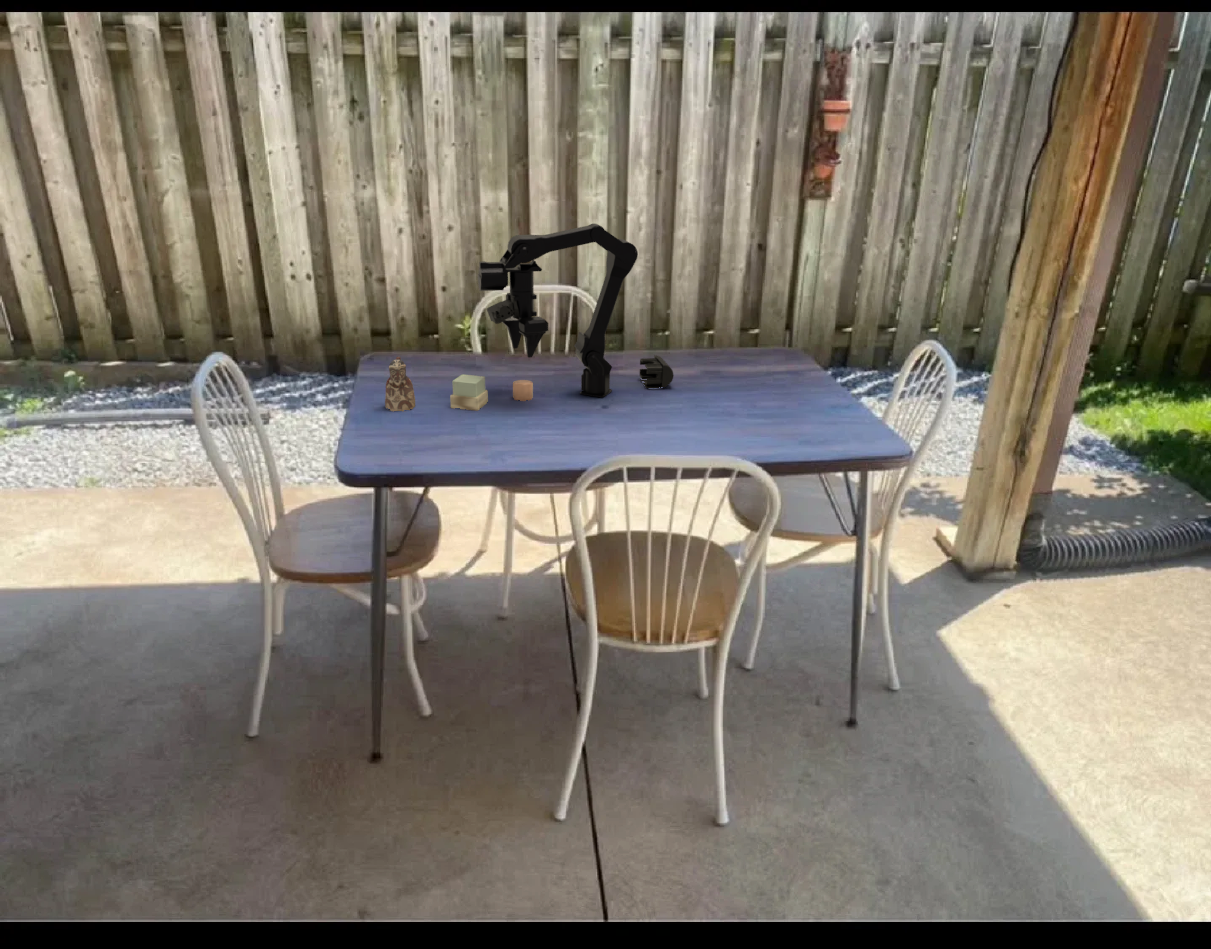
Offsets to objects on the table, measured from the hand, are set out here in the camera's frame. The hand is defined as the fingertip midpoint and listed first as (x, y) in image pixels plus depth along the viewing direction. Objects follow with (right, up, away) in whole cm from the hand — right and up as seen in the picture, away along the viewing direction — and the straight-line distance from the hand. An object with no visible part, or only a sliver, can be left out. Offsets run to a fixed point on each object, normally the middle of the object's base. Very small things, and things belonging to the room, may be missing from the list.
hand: (522, 352), depth 217 cm
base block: (-13, -13, -2) cm, 19 cm away
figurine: (-29, -14, -4) cm, 33 cm away
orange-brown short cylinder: (0, -11, +5) cm, 12 cm away
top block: (-13, -10, -3) cm, 17 cm away
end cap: (+34, -6, +19) cm, 39 cm away
